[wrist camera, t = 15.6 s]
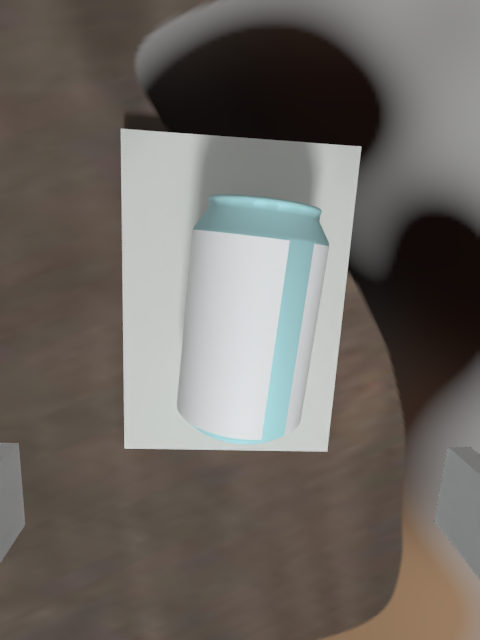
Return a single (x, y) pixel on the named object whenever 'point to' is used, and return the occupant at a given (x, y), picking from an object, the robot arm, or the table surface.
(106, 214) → the table surface
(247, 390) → the can
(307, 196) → the mat
